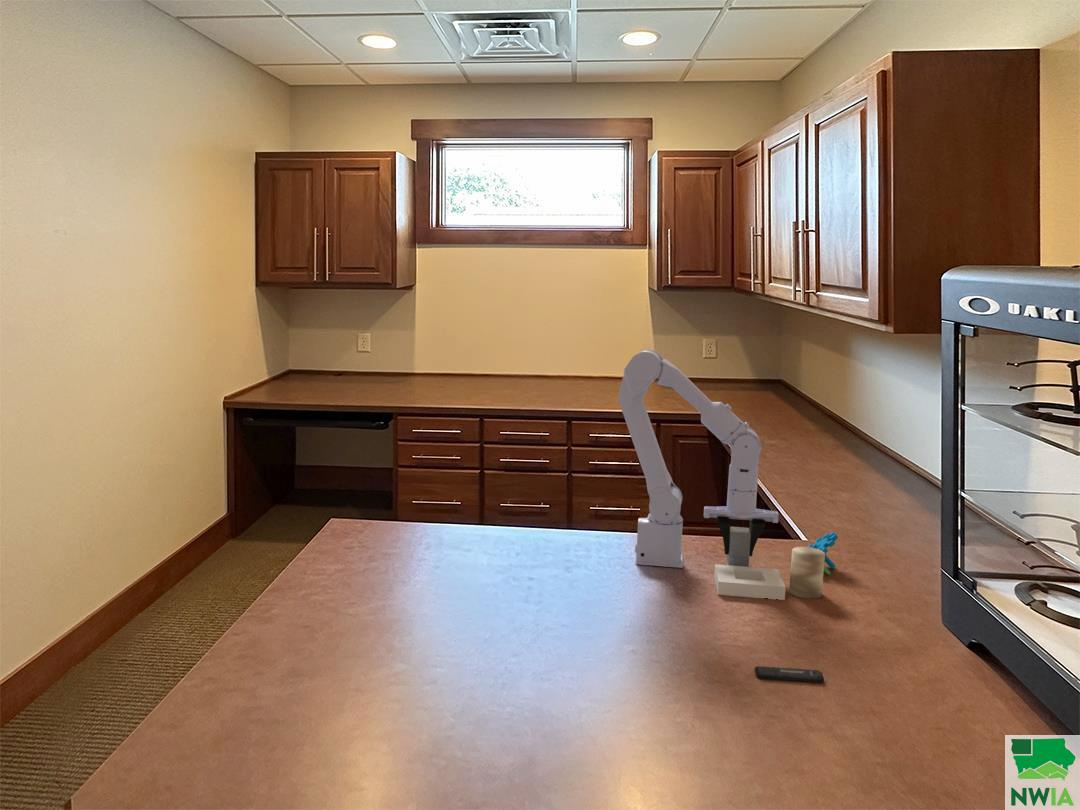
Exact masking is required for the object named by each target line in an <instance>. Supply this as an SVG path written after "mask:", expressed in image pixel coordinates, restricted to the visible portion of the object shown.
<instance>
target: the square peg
mask: <svg viewBox="0 0 1080 810" xmlns="http://www.w3.org/2000/svg"><path fill="white" fill-rule="evenodd" d="M750 539H751V532H750V527H744V526H743V527H741V526H730V533H729V554H728V555H727V554H726V561H725V563H726V564H725V565H731V566H744V567H750V566H749V564H750V556H749V554H750Z"/></svg>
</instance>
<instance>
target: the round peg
mask: <svg viewBox="0 0 1080 810" xmlns="http://www.w3.org/2000/svg"><path fill="white" fill-rule="evenodd" d="M824 559H825V553H824V552H823V551H821V550H819V549H815V548H810V547H808V546H796V547H794V548H791V560H790V561H791V563H790V576H789V586H788V587H789V589H788V592H789V591H790V592H789V593H790V594H791V595H793V596H795V597H800V598H803V599H810V598H811V599H812V598H814V599H819V598H821V597H822V595H823V584H824V583H823V582H824V573H825V571H824V566H825V562H824Z"/></svg>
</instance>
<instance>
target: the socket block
mask: <svg viewBox="0 0 1080 810" xmlns="http://www.w3.org/2000/svg"><path fill="white" fill-rule="evenodd" d="M713 575H714V576H713V577H715V578H714V581H715V582H714V583H715V588H716V593H718V594H717V595H719V596H729V597H730V596H731V597H742V598H753V599H764V598H768V599H767V600H776V599H778V600H777V601H779V600H781V601H785V600H786V599H785V598H786V584H785V583H784V580H783V578H782V575H781V573H780V571H779V569H778V568H767V567H754V566H749V567H744V566H731V565H727V564H718V563H716V564H714V573H713Z"/></svg>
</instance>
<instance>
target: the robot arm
mask: <svg viewBox="0 0 1080 810" xmlns="http://www.w3.org/2000/svg"><path fill="white" fill-rule="evenodd" d="M656 379H658V381H657V383H656V384H657V385H659V386H663V387H668V388H672V389H673V391H675V392H676V393H678V394H679V396H681V397H682V398H683V399H684V400H686V402H687V403H689V404H690V405H691V406H692V407H693V408H694V409H695V410H696V411H698V412H699V413H700V423H701V424H702V425H704V426H705V427H706V429H707V430H709V431H710V432H711V434H713V435H714V436H715V437H716V438H717V439H718V440H719V441H721V443H723V444H724V445H728V446H729V447H730V452H731V458H730V459H731V460H730V463H729V466H728V467H729V468H728V478H727V479H728V480H727V481H728V482H727V483H728V484H727V496H726V497H727V498H726V506H723V505H722V506H721V505H720V506H708V505H706V506H704V507H703V518H704V519H710V518H715V519H716V521H717V526H718V527H719V530H720V533H721V536H722V540H723V541H722V542H723V547H724V548H723V550H724V551H723V553H724V555H726V556H727V555H728V554H729V533H730V527H731V523H730V522H731V520H743V521H749V530H750V532H751V539H750V554H749V557H753V554H754V550H755V546H756V544H757V541H758V540H759V537H760V536H761V534H762V532H763V531H764V529H765V527H766V523H765V522H769V523H770V522H772V523H773V524H775V523H776V524H778V523H779V515H780V514H779V512H778V511H776V510H768V509H761V508H757V494H758V482H759V481H758V480H759V466H758V464H759V463H760V462H759V460H760V459H759V456H760V454H761V452H762V450H763V449H762V444H761V440H760V438H759V436H758V433H756V431H755V430H754V428H751V427H750V424H749V423H748V422H747V421H745V422H744V421H742V420H741V419H740V418H739V417H738V416H737V415H736V414H735V413H734V412H733V411H732V409H733V408H732V406H731V405H730V404H729V403H726V404H725V403H724V402H722V401H712V400H711V399H710V398H708V396H707V395H706V394H704V393H703V391H702V390H700V388H698V386H696V385H695V383H693V382H692V381H691V380H690V378H689V377H687V375H685V374H684V372H682V370H680V369H679V368H678V367H677V366H676V365H674V364H673V363H672V362H671V361H669V360H668V359H666V358H663V357H662V356H661V354H660V353H659V352H658V351H656V350H654V349H644V350H641V351H639V352H637V353H636V354H634V355H633V356H632V358H631V359H630V360H629V361H628V362H627V364H626V366H625V368H624V370H623V376H622V379H621V384H620V388H619V391H618V396H617V399H618V400H617V401H618V403H619V405H620V409H621V412H622V415H623V417H624V420H625V424H626V426H627V429H628V433H629V435H630V437H631V439H632V444H633V445H634V449H635V452H636V454H637V457H638V460H639V464H640V466H641V469H642V472H643V474H644V478H645V483H646V489H647V494H648V496H649V504H648V509H649V513H648V515H647V517H639V518H638V520H637V535H636V536H637V537H636V543H635V546H634V547H635V548H634V553H636V556H635V559H636V560H635V564H636V565H640V566H651V567H652V566H654V567H655V566H656V567H667V568H677V569H678V568H679V569H681V568H682V569H683V567H684V560H683V554H682V544H683V543H682V542H683V527H684V526H683V524H684V522H683V521H684V518H683V517H682V515H681V511H682V510H681V509H682V508H681V505H682V503H683V492H682V491H681V489H680V488H679V487H678V486H677V485H676V484H675V482H674V481H673V478H672V476H671V474H670V472H669V471H668V468H667V465H666V463H665V460H664V457H663V454H662V451H661V448H660V446H659V443H658V439H657V437H656V434H655V431H654V427H653V425H652V422H651V418H650V416H649V414H648V411H647V407H646V405H645V401H644V398H645V395H646V393H647V391H648V390H649V388H650V386H651V384H653V383H654V381H656ZM730 519H731V520H730Z"/></svg>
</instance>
